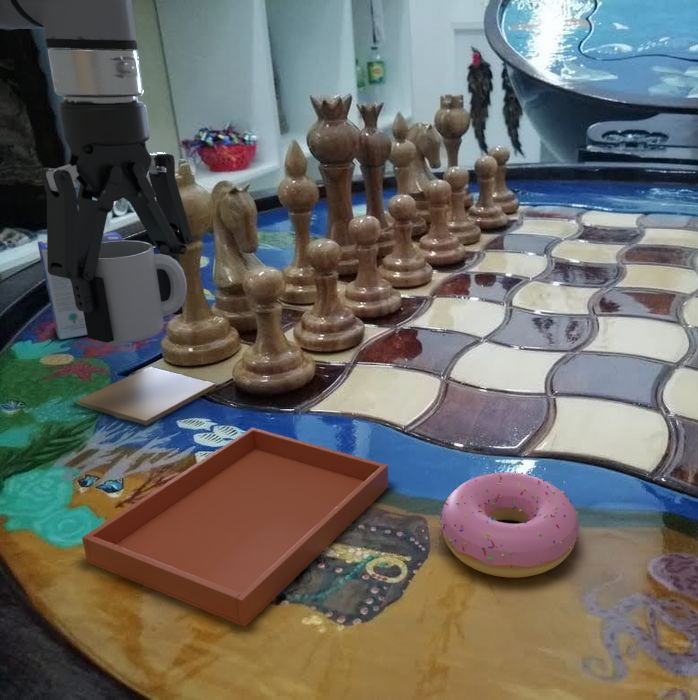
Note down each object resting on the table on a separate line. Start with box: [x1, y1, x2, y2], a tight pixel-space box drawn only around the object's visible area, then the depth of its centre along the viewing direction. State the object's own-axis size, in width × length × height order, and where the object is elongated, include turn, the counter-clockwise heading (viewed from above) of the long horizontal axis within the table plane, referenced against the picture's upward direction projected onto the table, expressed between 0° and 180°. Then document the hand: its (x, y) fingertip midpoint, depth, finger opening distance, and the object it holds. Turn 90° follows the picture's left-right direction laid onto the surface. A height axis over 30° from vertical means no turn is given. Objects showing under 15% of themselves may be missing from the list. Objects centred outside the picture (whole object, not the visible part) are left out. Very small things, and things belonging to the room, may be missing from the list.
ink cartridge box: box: [37, 231, 125, 340], centre depth 96 cm, size 10×6×14 cm, turn 124°
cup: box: [81, 239, 188, 345], centre depth 76 cm, size 7×10×9 cm
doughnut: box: [438, 470, 580, 578], centre depth 58 cm, size 11×11×4 cm
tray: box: [81, 427, 389, 628], centre depth 60 cm, size 15×19×2 cm
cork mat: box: [76, 366, 217, 427], centre depth 80 cm, size 10×10×1 cm
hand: (137, 324), depth 77 cm, fingers closed on cup, 9 cm apart
